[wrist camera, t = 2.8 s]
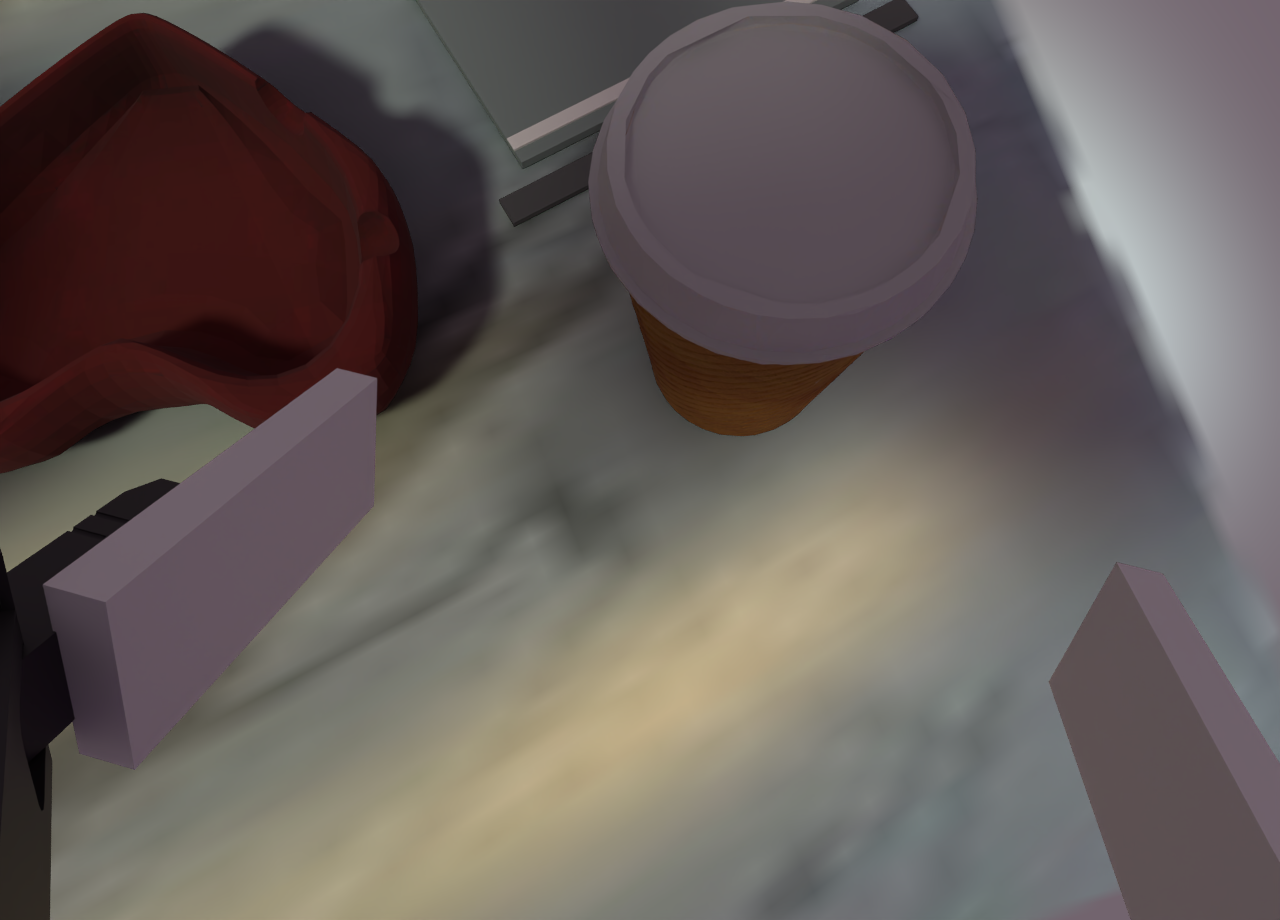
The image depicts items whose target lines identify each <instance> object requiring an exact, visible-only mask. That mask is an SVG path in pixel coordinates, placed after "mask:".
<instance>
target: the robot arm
mask: <svg viewBox="0 0 1280 920" xmlns="http://www.w3.org/2000/svg"><path fill="white" fill-rule="evenodd" d="M376 406H377V378H375V377H371V376H367V375H363V374H359V373H355V372H350V371H346V370H342V369H338V368H337V369H335V370H334V371H333V372H331V373H330V374H328V375H327V376H326V377H324V378H323V379H322V380H320V381H319V382H318V383H316V384H315V385H314V386H312V387H311V388H309V389H308V390H307V391H305V392H304V393H303V394H301V395H300V396H299V397H297V398H296V399H294V400H293V401H292V402H290V403H289V404H288V405H286V406H285V407H284V408H282V409H281V410H280V411H278V412H277V413H275V414H274V415H273V416H271V417H270V418H269V419H267V420H266V421H265V422H263V423H262V424H260V425H259V426H258V427H256V428H255V429H254V430H252V431H251V432H250V433H248V434H247V435H246V436H244V437H243V438H241V439H240V440H239V441H237V442H236V443H235V444H233V445H232V446H231V447H229V448H228V449H226V450H225V451H224V452H222V453H221V454H220V455H218V456H217V457H216V458H214V459H213V460H212V461H210V462H209V463H207V464H206V465H205V466H203V467H202V468H201V469H199V470H198V471H197V472H195V473H194V474H192V475H191V476H190V477H188V478H187V479H186V480H184V481H183V482H182V483H177V482H173V481H169V480H165V479H162V478H161V479H159V480H156V481H153V482H150V483H148V484H145V485H142V486H139V487H137V488H134V489H131V490H128V491H126V492H124V493H122V494H121V495H119V496H118V497H116V498H115V499H113V500H112V501H110V502H109V503H108V504H106V505H105V506H103V507H102V508H100V509H99V510H97V511H96V515H95V516H93V515H90V516H89V517H87V518H86V519H84V520H83V521H81V522H80V523H79V524H77V525H76V526H74V527H73V531H72V532H70V531H67V532H65V533H64V534H63V535H61V536H60V537H58V538H57V539H55V540H54V541H52V542H51V543H49V544H48V545H47V546H45V547H44V548H42V549H41V550H39V551H38V552H36V553H35V554H33V555H32V556H31V557H29V558H28V559H26V560H25V561H23V562H22V563H20V564H19V565H17V566H16V567H15V568H13V569H12V570H10V571H9V572H6V568H5V564H4V560H3V556H2V552H1V549H0V920H50V878H51V811H52V758H51V754H50V750H49V746H48V744H49V743H50V742H51V741H52V740H53V739H54V738H55V737H56V736H58V735H59V734H60V733H61V732H62V731H63V730H64V729H65V728H66V727H67V726H68V725H69V724H70V723H71V722H73V726H74V731H75V735H76V740H77V745H78V749H79V754H83V755H86V756H90V757H93V758H96V759H100V760H103V761H107V762H110V763H113V764H117V765H120V766H124V767H127V768H130V769H134V770H135V769H136V768H137V767H138V766H139V764H140V763H141V762H142V761H143V760H144V759H145V758H146V757H147V756H148V754H149V753H150V752H151V751H152V750H153V749H154V748H155V747H156V746H157V745H158V743H159V742H160V741H161V740H162V739H163V738H164V737H165V736H166V735H167V734H168V732H169V731H170V730H171V729H172V728H173V727H174V726H175V725H176V724H177V722H178V721H179V720H180V719H181V718H182V717H183V716H184V715H185V714H186V713H187V711H188V710H189V709H190V708H191V707H192V706H193V705H194V704H195V703H196V701H197V700H198V699H199V698H200V697H201V696H202V695H203V694H204V693H205V692H206V690H207V689H208V688H209V687H210V686H211V685H212V684H213V683H214V682H215V680H216V679H217V678H218V677H219V676H220V675H221V674H222V673H223V672H224V671H225V669H226V668H227V667H228V666H229V665H230V664H231V663H232V662H233V661H234V659H235V658H236V657H237V656H238V655H239V654H240V653H241V652H242V651H243V650H244V648H245V647H246V646H247V645H248V644H249V643H250V642H251V641H252V640H253V639H254V637H255V636H256V635H257V634H258V633H259V632H260V631H261V630H262V629H263V627H264V626H265V625H266V624H267V623H268V622H269V621H270V620H271V619H272V618H273V616H274V615H275V614H276V613H277V612H278V611H279V610H280V609H281V608H282V606H283V605H284V604H285V603H286V602H287V601H288V600H289V599H290V598H291V597H292V595H293V594H294V593H295V592H296V591H297V590H298V589H299V588H300V587H301V585H302V584H303V583H304V582H305V581H306V580H307V579H308V578H309V577H310V576H311V574H312V573H313V572H314V571H315V570H316V569H317V568H318V567H319V566H320V565H321V563H322V562H323V561H324V560H325V559H326V558H327V557H328V556H329V555H330V553H331V552H332V551H333V550H334V549H335V548H336V547H337V546H338V545H339V544H340V542H341V541H342V540H343V539H344V538H345V537H346V536H347V535H348V534H349V532H350V531H351V530H352V529H353V528H354V527H355V526H356V525H357V524H358V523H359V521H360V520H361V519H362V518H363V517H364V516H365V515H366V514H367V513H368V511H369V510H370V509H371V508H372V507H373V506H374V484H375V445H376ZM1049 684H1050V687H1051V690H1052V692H1053V695H1054V698H1055V701H1056V704H1057V707H1058V710H1059V713H1060V716H1061V719H1062V721H1063V724H1064V727H1065V730H1066V733H1067V736H1068V739H1069V742H1070V745H1071V748H1072V751H1073V753H1074V756H1075V759H1076V762H1077V765H1078V768H1079V771H1080V774H1081V777H1082V780H1083V783H1084V785H1085V788H1086V791H1087V794H1088V797H1089V800H1090V803H1091V806H1092V809H1093V812H1094V814H1095V817H1096V820H1097V823H1098V826H1099V829H1100V832H1101V835H1102V838H1103V841H1104V844H1105V846H1106V849H1107V852H1108V855H1109V858H1110V861H1111V864H1112V867H1113V870H1114V873H1115V876H1116V878H1117V881H1118V884H1119V887H1120V890H1121V893H1122V896H1123V899H1124V902H1125V905H1126V908H1127V910H1128V913H1129V916H1130V919H1131V920H1280V763H1279V762H1278V760H1277V758H1276V757H1275V755H1274V753H1273V752H1272V750H1271V749H1270V747H1269V745H1268V744H1267V742H1266V740H1265V739H1264V737H1263V736H1262V734H1261V732H1260V731H1259V729H1258V727H1257V726H1256V724H1255V723H1254V721H1253V719H1252V718H1251V716H1250V714H1249V713H1248V711H1247V710H1246V708H1245V706H1244V705H1243V703H1242V701H1241V700H1240V698H1239V697H1238V695H1237V693H1236V692H1235V690H1234V688H1233V687H1232V685H1231V683H1230V682H1229V680H1228V679H1227V677H1226V675H1225V674H1224V672H1223V670H1222V669H1221V667H1220V666H1219V664H1218V662H1217V661H1216V659H1215V657H1214V656H1213V654H1212V653H1211V651H1210V649H1209V648H1208V646H1207V644H1206V643H1205V641H1204V640H1203V638H1202V636H1201V635H1200V633H1199V631H1198V630H1197V628H1196V627H1195V625H1194V623H1193V622H1192V620H1191V618H1190V617H1189V615H1188V613H1187V612H1186V610H1185V609H1184V607H1183V605H1182V604H1181V602H1180V600H1179V599H1178V597H1177V596H1176V594H1175V592H1174V591H1173V589H1172V587H1171V586H1170V584H1169V583H1168V581H1167V579H1166V578H1165V576H1164V574H1162V573H1158V572H1154V571H1150V570H1146V569H1142V568H1138V567H1134V566H1130V565H1126V564H1122V563H1118V562H1116V564H1115V566H1114V568H1113V570H1112V571H1111V573H1110V575H1109V577H1108V578H1107V580H1106V582H1105V584H1104V585H1103V587H1102V589H1101V591H1100V592H1099V594H1098V596H1097V598H1096V600H1095V601H1094V603H1093V605H1092V607H1091V608H1090V610H1089V612H1088V614H1087V615H1086V617H1085V619H1084V621H1083V622H1082V624H1081V626H1080V628H1079V630H1078V631H1077V633H1076V635H1075V637H1074V638H1073V640H1072V642H1071V644H1070V645H1069V647H1068V649H1067V651H1066V652H1065V654H1064V656H1063V658H1062V660H1061V661H1060V663H1059V665H1058V667H1057V668H1056V670H1055V672H1054V674H1053V675H1052V677H1051V679H1050V681H1049Z"/></svg>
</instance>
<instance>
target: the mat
mask: <svg viewBox="0 0 1280 920" xmlns="http://www.w3.org/2000/svg"><path fill="white" fill-rule="evenodd" d="M786 1H789V2H799V3H809V4H819V5H824V6H828V7H832V8H835V9H839V10H841V9H843V8H845V7H847V6H849V5H851V4H853V3H855V2H857V1H858V0H416V2H417V3H418V5H419V6H420V8H421V10H422V11H423V13H424V14H425V16H426V17H427V19H428V21H429V22H430V24H431V25H432V27H433V28H434V30H435V32H436V33H437V35H438V36H439V38H440V39H441V41H442V43H443V44H444V46H445V47H446V49H447V50H448V52H449V54H450V55H451V57H452V58H453V60H454V61H455V63H456V65H457V66H458V68H459V69H460V71H461V72H462V74H463V76H464V77H465V79H466V80H467V82H468V83H469V85H470V87H471V88H472V90H473V91H474V93H475V94H476V96H477V98H478V99H479V101H480V102H481V104H482V105H483V107H484V109H485V110H486V112H487V113H488V115H489V116H490V118H491V120H492V121H493V123H494V124H495V126H496V127H497V129H498V131H499V132H500V134H501V135H502V137H503V138H504V140H505V142H506V143H507V145H508V146H509V148H510V149H511V151H512V153H513V154H514V156H515V157H516V159H517V160H518V162H519V164H520V165H521V167H522V168H523V169H524V168H526V167H528V166H530V165H532V164H534V163H536V162H538V161H540V160H542V159H544V158H546V157H548V156H550V155H552V154H554V153H556V152H558V151H560V150H562V149H564V148H566V147H568V146H570V145H572V144H574V143H576V142H578V141H580V140H582V139H584V138H586V137H588V136H590V135H592V134H593V133H595V132H597V131H599V130H601V127H602V124H603V122H604V119H605V117H606V116H607V114H608V113H609V111H610V110H611V108H612V107H613V105H614V104H615V102H616V101H617V99H618V97H619V96H620V94H621V92H622V90H623V89H624V87H625V85H626V83H627V82H628V80H629V78H630V77H631V75H632V73H633V71H634V70H635V69H636V68H637V67H638V66H639V64H640V63H641V62H642V61H643V60H644V59H645V57H646V56H647V55H648V54H649V53H650V52H651V51H652V50H654V49H655V48H656V47H657V46H658V45H659V44H661V43H662V42H663V41H664V40H665V39H667V38H668V37H669V36H670V35H672V34H674V33H675V32H677V31H679V30H681V29H682V28H684V27H686V26H688V25H689V24H691V23H693V22H695V21H696V20H698V19H701V18H704V17H707V16H709V15H712V14H715V13H718V12H721V11H723V10H726V9H729V8H732V7H741V6H749V5H758V4H767V3H777V2H786Z"/></svg>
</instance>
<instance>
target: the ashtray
mask: <svg viewBox="0 0 1280 920" xmlns="http://www.w3.org/2000/svg"><path fill="white" fill-rule="evenodd" d="M417 324H418V292H417V275H416V264H415V257H414V249H413V244H412V240H411V237H410V233H409V230H408V226H407V223H406V220H405V217H404V214H403V211H402V209H401V207H400V204H399V202H398V200H397V197H396V195H395V193H394V191H393V190H392V188H391V186H390V185H389V183H388V181H387V180H386V178H385V177H384V175H383V174H382V173H381V171H380V170H379V168H378V167H377V166H376V164H375V163H374V162H373V160H372V159H371V158H370V157H369V156H368V155H367V154H365V153H364V152H363V151H362V150H361V149H360V148H359V147H358V146H357V145H355V144H354V143H353V142H351V141H350V140H349V139H347V138H346V137H345V136H344V135H342V134H341V133H340V132H338V131H337V130H336V129H334V128H333V127H331V126H330V125H329V124H327V123H326V122H324V121H323V120H321V119H320V118H319V117H317V116H316V115H314V114H313V113H312V112H309V113H305V112H303V111H302V110H300V109H299V108H298V107H296V106H295V105H294V104H293V103H291V102H290V101H289V100H288V99H287V98H286V97H284V96H283V95H282V94H281V93H280V92H279V91H278V90H277V89H276V88H275V87H274V86H272V85H271V84H270V83H268V82H267V81H266V80H264V79H263V78H261V77H260V76H258V75H257V74H255V73H254V72H252V71H251V70H249V69H248V68H246V67H245V66H243V65H242V64H240V63H239V62H237V61H236V60H234V59H232V58H231V57H229V56H228V55H226V54H224V53H223V52H221V51H219V50H218V49H216V48H215V47H213V46H211V45H210V44H208V43H206V42H205V41H203V40H201V39H199V38H198V37H196V36H194V35H192V34H191V33H189V32H187V31H185V30H183V29H181V28H180V27H178V26H176V25H174V24H172V23H170V22H168V21H166V20H164V19H161V18H159V17H157V16H154V15H151V14H147V13H138V14H131V15H127V16H125V17H123V18H121V19H119V20H117V21H116V22H114V23H112V24H111V25H109V26H108V27H106V28H105V29H103V30H102V31H100V32H99V33H97V34H96V35H94V36H93V37H91V38H90V39H88V40H87V41H86V42H84V43H83V44H81V45H80V46H79V47H77V48H76V49H75V50H73V51H72V52H70V53H69V54H68V55H66V56H65V57H64V58H62V59H61V60H60V61H58V62H57V63H56V64H54V65H53V66H52V67H50V68H49V69H48V70H46V71H45V72H44V73H42V74H41V75H40V76H38V77H37V78H36V79H35V80H33V81H32V82H31V83H30V84H28V85H27V86H26V87H24V88H23V89H22V90H21V91H19V92H18V93H17V94H16V95H14V96H13V97H12V98H11V99H9V100H8V101H7V102H6V103H4V104H3V105H2V106H1V107H0V473H5V472H9V471H13V470H16V469H19V468H22V467H25V466H29V465H32V464H36V463H39V462H43V461H46V460H48V459H51V458H53V457H55V456H58V455H60V454H61V453H63V452H64V451H66V450H67V449H68V448H70V447H71V446H72V445H74V444H75V443H76V442H78V441H79V440H81V439H82V438H83V437H85V436H86V435H87V434H89V433H90V432H91V431H93V430H94V429H96V428H98V427H100V426H102V425H104V424H106V423H108V422H110V421H112V420H114V419H117V418H120V417H123V416H126V415H129V414H132V413H135V412H139V411H146V410H153V409H161V408H170V407H181V406H189V405H196V404H208V405H211V406H213V407H215V408H217V409H219V410H220V411H222V412H224V413H225V414H227V415H229V416H231V417H233V418H235V419H237V420H239V421H241V422H243V423H245V424H247V425H249V426H251V427H253V428H256V427H258V426H259V425H260V424H262V423H263V422H265V421H266V420H267V419H269V418H270V417H271V416H273V415H274V414H275V413H277V412H278V411H280V410H281V409H282V408H284V407H285V406H286V405H288V404H289V403H290V402H292V401H293V400H294V399H296V398H297V397H299V396H300V395H301V394H303V393H304V392H305V391H307V390H308V389H309V388H311V387H312V386H314V385H315V384H316V383H318V382H319V381H320V380H322V379H323V378H324V377H326V376H327V375H328V374H330V373H331V372H333V371H334V370H335V369H337V368H338V369H342V370H346V371H350V372H355V373H359V374H363V375H367V376H371V377H375V378H377V406H376V415H378V414H379V413H381V412H382V411H384V410H385V409H386V408H387V406H388V405H389V404H390V402H391V401H392V399H393V398H394V396H395V395H396V393H397V391H398V389H399V387H400V385H401V384H402V382H403V380H404V377H405V375H406V373H407V371H408V368H409V366H410V364H411V360H412V357H413V354H414V351H415V346H416V336H417Z"/></svg>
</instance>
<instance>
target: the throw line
mask: <svg viewBox="0 0 1280 920" xmlns="http://www.w3.org/2000/svg"><path fill="white" fill-rule="evenodd" d="M863 17H865V18H867V19H869V20H870V21H872V22H874V23H876V24H878V25H880V26H881V27H883V28H885V29H887V30H889V31H891V32H892V33H894V32H896V31H898V30H900V29H902V28H904V27H906V26H907V25H909V24H911V23H913V22H915V21H917V19H918V15H917V14H916V13H915V12H914V10H913V9H912V8H911V7H910V6H909V4H908V3H907V2H906V1H905V0H893V1H891V2H889V3H887V4H885V5H883V6H881V7H879V8H877V9H875V10H873V11H871V12H869V13H867V14H865V15H863ZM592 154H593V152H592V153H590V154H588V155H586V156H584V157H582V158H580V159H578V160H576V161H574V162H572V163H570V164H568V165H566V166H564V167H562V168H560V169H558V170H557V171H555V172H553V173H551V174H549V175H547V176H545V177H543V178H541V179H539V180H537V181H535V182H533V183H531V184H529V185H527V186H525V187H523V188H521V189H519V190H517V191H515V192H513V193H511V194H509V195H507V196H505V197H503V198H501V199H499V201H500V204H501V206H502V207H503V209H504V210H505V212H506V214H507V215H508V217H509V218H510V220H511V222H512V223H513V225H514V227H515V226H517V225H518V224H520V223H522V222H524V221H526V220H528V219H530V218H532V217H534V216H536V215H538V214H540V213H542V212H544V211H546V210H548V209H550V208H552V207H554V206H556V205H558V204H560V203H561V202H563V201H565V200H567V199H569V198H571V197H573V196H575V195H577V194H579V193H581V192H583V191H585V190H587V189H589V185H588V181H589V174H590V167H591V161H592Z"/></svg>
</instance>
